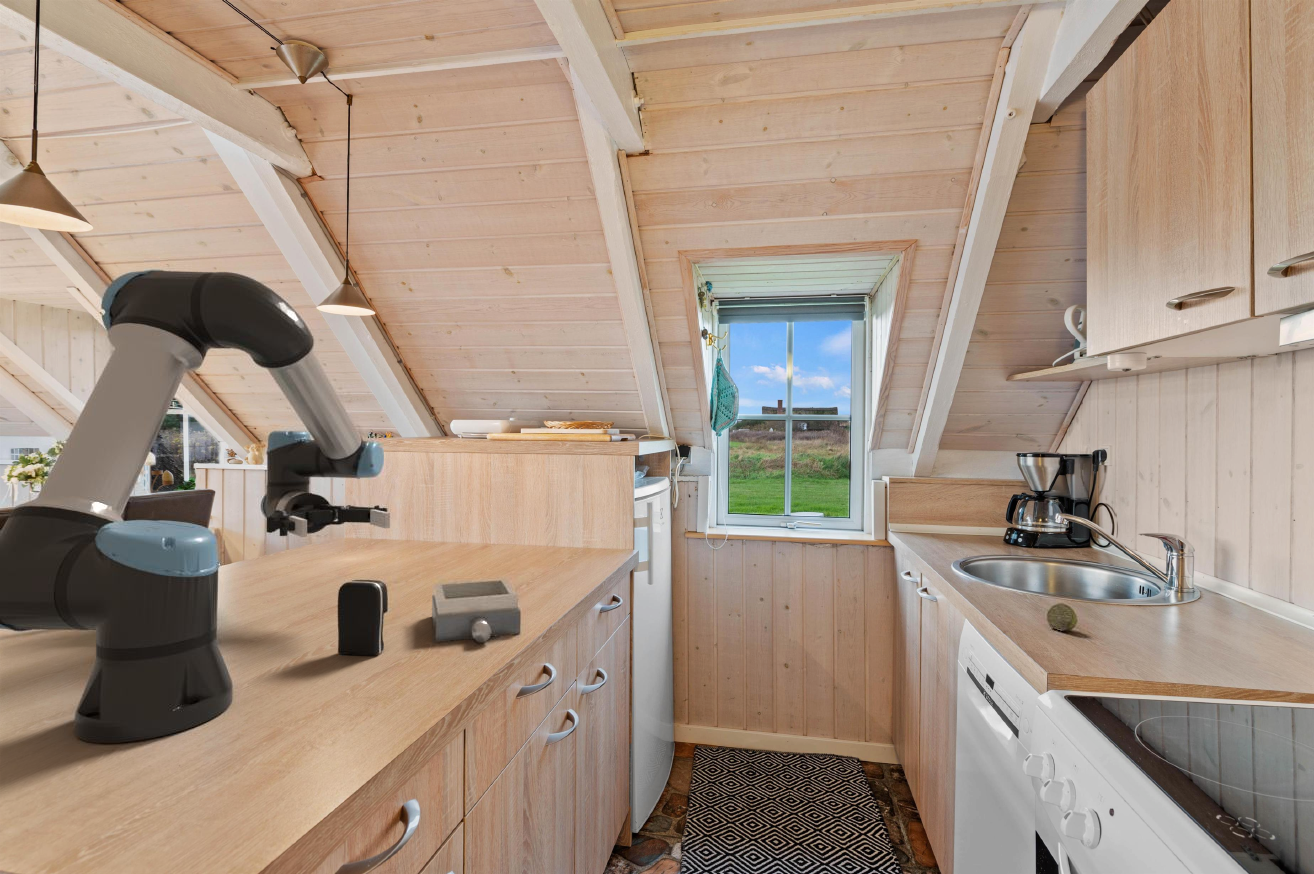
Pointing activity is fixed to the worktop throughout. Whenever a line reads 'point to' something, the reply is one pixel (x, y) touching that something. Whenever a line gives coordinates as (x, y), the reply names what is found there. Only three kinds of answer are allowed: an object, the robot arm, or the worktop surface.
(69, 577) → the robot arm
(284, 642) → the worktop surface
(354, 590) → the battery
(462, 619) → the grey drawer box
